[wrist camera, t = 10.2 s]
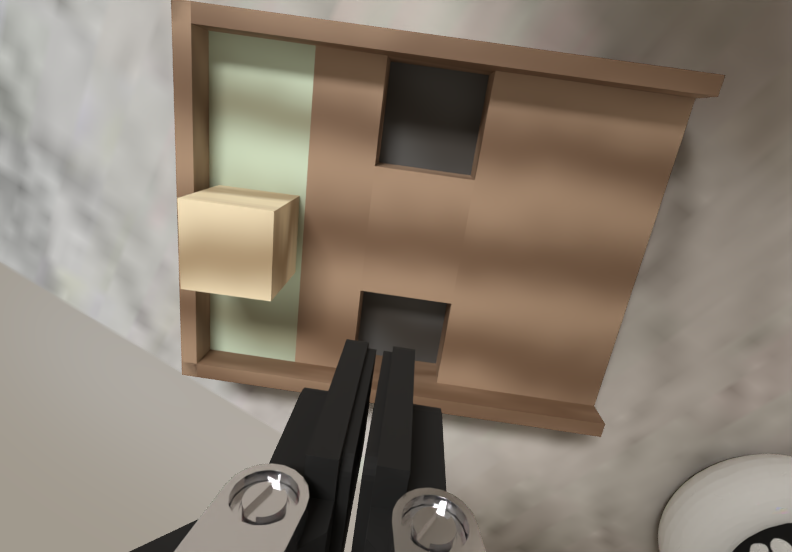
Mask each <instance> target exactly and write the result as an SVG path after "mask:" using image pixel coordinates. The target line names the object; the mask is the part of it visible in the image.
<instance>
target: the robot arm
mask: <svg viewBox="0 0 792 552" xmlns="http://www.w3.org/2000/svg"><path fill="white" fill-rule="evenodd" d="M376 351H377V349H370V348H369V342H363V341H357V340H350V339H347V340H346V342H345V345H344V348H343V351H342V353H341V356H340V359H339V362H338V365H337V368H336V370H335V373H334V376H333V379H332V382H331V385H330V388H329V390H328V391H325V390H319V389H312V388H306V387H305V388H303V390H302V391H301V394H300V396H299V398H298V400H297V402H296V405H295V407H294V409H293V411H292V414H291V416H290V418H289V420H288V422H287V425H286V427H285V429H284V431H283V434H282V436H281V438H280V440H279V443H278V445H277V447H276V449H275V451H274V454H273V456H272V458H271V460H270V463H269V464H259V465H256V466H252V467H249V468H246V469H244V470H242V471H241V472H239V473H237V474H235V475H234V476H233V477H232V478H231V479H230V480H229V481H228V482H227V483H226V484H225V485H224V487H223V488H222V489H221V491H220V492H219V493H218V494H217V496H216V497H215V498H214V500H213V501H212V502H211V504H210V505H209V506H208V508H207V509H206V510H205V512H204V513H203V514H202V515H201V517H200V518H199V519H198V520H196V521H194V522H191V523H189V524H187V525H185V526H183V527H181V528H179V529H177V530H175V531H172V532H170V533H168V534H166V535H164V536H162V537H160V538H158V539H155V540H154V541H151V542H149V543H147V544H145V545H143V546H141V547H138V548H136V549H134V550H132V551H130V552H344V548H345V543H346V537H347V532H348V527H349V521H350V516H351V510H352V505H353V500H354V494H355V489H356V483H357V478H358V473H359V468H360V462H361V457H362V451H363V445H364V438H365V431H366V424H367V417H368V409H369V402H370V395H371V388H372V380H373V373H374V366H375V359H376ZM414 369H415V349H410V348H403V347H396V346H393V351H392V352H390V351H383V357H382V363H381V368H380V374H379V380H378V385H377V391H376V397H375V402H374V408H373V414H372V420H371V425H370V431H369V437H368V442H367V448H366V454H365V460H364V466H363V473H362V479H361V487H360V494H359V502H358V509H357V515H356V522H355V530H354V537H353V544H352V551H351V552H486V550H485V547H484V543H483V540H482V537H481V533H480V530H479V527H478V523H477V521H476V519H475V517H474V515H473V513H472V511H471V510H470V509H469V508H468V507H467V505H466V504H465V503H464V502H463V501H461V500H460V499H459V498H457V497H456V496H454V495H453V494H450V493H448V492H446V478H445V460H444V443H443V426H442V411H441V408H437V407H430V406H424V405H417V404H413V394H414Z"/></svg>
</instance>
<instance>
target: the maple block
mask: <svg viewBox="0 0 792 552" xmlns="http://www.w3.org/2000/svg"><path fill="white" fill-rule="evenodd" d="M299 198H300V196H298V195H290V194H283V193H275V192H268V191H261V190H253V189H246V188H238V187H231V186H224V185H217V186H214V187H211V188H208V189H205V190H202V191H198V192H195V193H192V194H189V195H186V196H182V197H179V198H177V202H178V229H179V256H180V283H181V289H185V290H192V291H199V292H207V293H214V294H221V295H228V296H235V297H243V298H250V299H257V300H264V301H272V300H273V298H274V297H275V296H276V295H277V294H278V292H279V291H280V290H281V289H282V288H283V287H284V285H285V284H286V283H287V282H288V281H289V279H290V278H291V277H292V276H293V275H294V274H295V272H296V255H297V236H298V217H299Z"/></svg>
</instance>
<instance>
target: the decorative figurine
mask: <svg viewBox="0 0 792 552" xmlns="http://www.w3.org/2000/svg"><path fill="white" fill-rule="evenodd" d="M658 543H659V550H660V552H792V456H786V455H780V454H753V455H747V456H742V457H737V458H732V459H729V460H725V461H722V462H719V463H717V464H715V465H712V466H710V467H708V468H706V469H705V470H703V471H701V472H699V473H697V474H696V475H694V476H693V477H692V478H690V479H689V480H688V481H687V482H685V483H684V484H683V485H682V486H681V487H680V488H679V489H678V490H677V491H676V492H675V493H674V495H673V496H672V498H671V499H670V501H669V502H668V504H667V506H666V507H665V509H664V511H663V514H662V517H661V520H660V524H659V530H658Z"/></svg>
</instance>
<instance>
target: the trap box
mask: <svg viewBox="0 0 792 552" xmlns="http://www.w3.org/2000/svg"><path fill="white" fill-rule="evenodd" d="M171 13H172V47H173V82H174V116H175V150H176V184H177V198H179V197H182V196H186V195H189V194H192V193H195V192H198V191H202V190H205V189H208V188H211V187H214V186H217V185H224V186H231V187H238V188H246V189H253V190H261V191H268V192H275V193H283V194H290V195H298V196H300V198H299V217H298V236H297V255H296V272H295V274H294V275H293V276H292V277H291V278H290V279H289V281H288V282H287V283H286V284H285V285H284V287H283V288H282V289H281V290H280V291H279V292H278V294H277V295H276V296H275V297H274V298H273V300H272V301H264V300H257V299H250V298H243V297H235V296H228V295H221V294H214V293H207V292H199V291H192V290H185V289H181V283H180V256H179V287H180V321H181V356H182V375H188V376H194V377H201V378H208V379H215V380H221V381H228V382H235V383H242V384H248V385H255V386H262V387H269V388H275V389H282V390H289V391H295V392H301V391H302V390H303V388H305V387H306V388H312V389H319V390H325V391H328V390H329V388H330V385H331V382H332V379H333V376H334V373H335V370H336V368H337V365H338V362H339V359H340V356H341V353H342V351H343V348H344V345H345V342H346V340H347V339H350V340H357V341H363V342H369V348H370V349H377V351H376V359H375V366H374V373H373V380H372V388H371V395H370V403H374V402H375V397H376V391H377V385H378V380H379V374H380V368H381V363H382V357H383V351H390V352H392V351H393V346H396V347H403V348H410V349H415V369H414V394H413V404H417V405H424V406H430V407H437V408H441V411H442V413H444V414H450V415H457V416H464V417H471V418H477V419H484V420H491V421H498V422H504V423H511V424H518V425H525V426H531V427H538V428H545V429H551V430H558V431H565V432H572V433H578V434H585V435H592V436H599V437H601V435H602V432H603V429H604V426H605V423H604V422H603V420H602V418H601V417H600V415H599V413H598V412H597V410H596V408H595V407H594V405H595V402H596V399H597V396H598V393H599V390H600V387H601V383H602V380H603V377H604V374H605V371H606V368H607V365H608V362H609V359H610V356H611V353H612V350H613V347H614V344H615V341H616V338H617V335H618V332H619V329H620V326H621V323H622V320H623V317H624V314H625V311H626V308H627V305H628V302H629V299H630V295H631V292H632V289H633V286H634V283H635V280H636V277H637V274H638V271H639V268H640V265H641V262H642V259H643V256H644V253H645V250H646V247H647V244H648V241H649V238H650V235H651V232H652V229H653V226H654V223H655V220H656V217H657V214H658V211H659V207H660V204H661V201H662V198H663V195H664V192H665V189H666V186H667V183H668V180H669V177H670V174H671V171H672V168H673V165H674V162H675V159H676V156H677V153H678V150H679V147H680V144H681V141H682V138H683V135H684V132H685V129H686V126H687V123H688V120H689V116H690V113H691V110H692V107H693V104H694V101H695V98H707V97H718V95H719V92H720V89H721V86H722V84H723V81H724V78H725V75H721V74H714V73H706V72H699V71H692V70H685V69H678V68H670V67H663V66H656V65H649V64H641V63H634V62H627V61H620V60H613V59H605V58H598V57H591V56H584V55H576V54H569V53H562V52H555V51H547V50H540V49H533V48H526V47H519V46H511V45H504V44H497V43H490V42H482V41H475V40H468V39H461V38H454V37H446V36H439V35H432V34H425V33H417V32H410V31H403V30H396V29H389V28H381V27H374V26H367V25H360V24H352V23H345V22H338V21H331V20H324V19H316V18H309V17H302V16H295V15H287V14H280V13H273V12H266V11H259V10H251V9H244V8H237V7H230V6H222V5H215V4H208V3H201V2H194V1H186V0H171ZM177 219H178V202H177ZM178 253H179V229H178Z"/></svg>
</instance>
